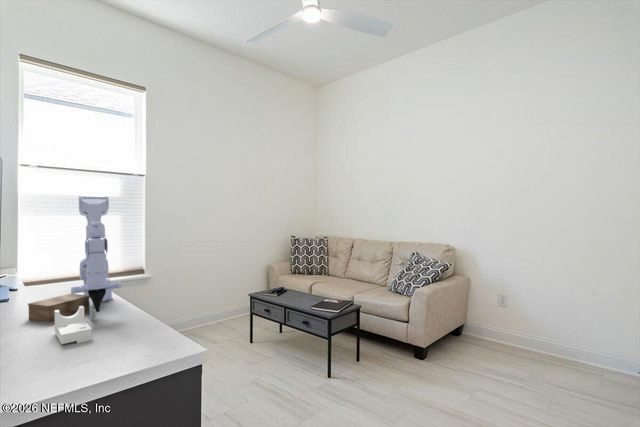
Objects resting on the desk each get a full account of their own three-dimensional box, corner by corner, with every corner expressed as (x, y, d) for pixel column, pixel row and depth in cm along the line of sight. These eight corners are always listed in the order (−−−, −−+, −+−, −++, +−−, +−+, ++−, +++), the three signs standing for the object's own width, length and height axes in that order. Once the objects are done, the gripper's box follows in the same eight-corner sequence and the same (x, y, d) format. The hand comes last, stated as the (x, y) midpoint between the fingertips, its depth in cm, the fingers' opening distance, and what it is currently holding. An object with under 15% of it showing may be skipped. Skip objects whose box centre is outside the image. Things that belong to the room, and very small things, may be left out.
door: (88, 310, 128) (88, 297, 128) (93, 309, 129) (93, 297, 129) (90, 320, 116) (90, 306, 116) (95, 319, 117) (95, 306, 117)
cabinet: (70, 308, 131) (70, 293, 131) (89, 310, 128) (89, 295, 128) (28, 319, 118) (27, 303, 118) (48, 322, 114) (48, 306, 114)
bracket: (54, 335, 104) (54, 310, 104) (82, 329, 109) (82, 305, 109) (61, 347, 95) (61, 320, 95) (91, 340, 100) (91, 314, 100)
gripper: (71, 276, 112) (71, 318, 112) (122, 271, 120) (122, 310, 120) (70, 273, 117) (71, 312, 118) (119, 268, 126) (120, 305, 126)
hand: (97, 311), depth 119 cm, fingers closed
